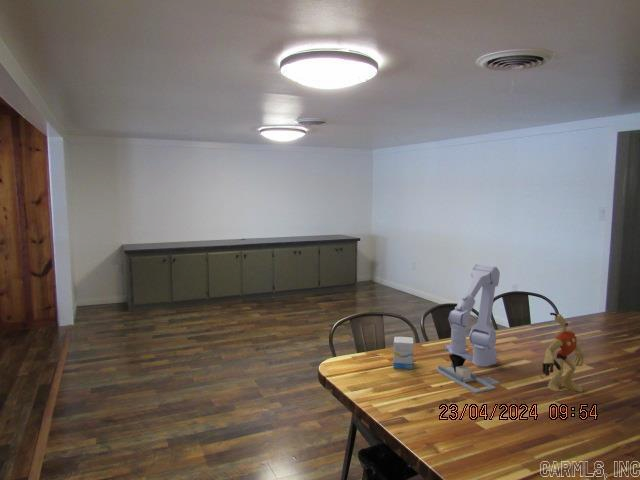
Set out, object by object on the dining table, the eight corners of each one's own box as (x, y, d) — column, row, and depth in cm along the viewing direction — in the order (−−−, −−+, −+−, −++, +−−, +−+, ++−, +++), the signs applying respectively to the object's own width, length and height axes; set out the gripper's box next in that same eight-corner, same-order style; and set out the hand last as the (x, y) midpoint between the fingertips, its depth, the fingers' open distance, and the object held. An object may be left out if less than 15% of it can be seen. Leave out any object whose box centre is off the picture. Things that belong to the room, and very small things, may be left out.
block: (463, 374, 178) (463, 365, 177) (470, 378, 174) (470, 368, 173) (455, 376, 176) (455, 366, 176) (462, 380, 172) (462, 370, 172)
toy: (550, 404, 157) (554, 321, 154) (528, 394, 164) (532, 315, 161) (589, 390, 167) (594, 313, 164) (568, 381, 175) (571, 307, 172)
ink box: (413, 369, 188) (413, 343, 187) (393, 368, 190) (393, 342, 189) (413, 362, 196) (413, 337, 195) (393, 361, 198) (394, 335, 197)
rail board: (455, 370, 187) (455, 362, 187) (495, 392, 166) (496, 383, 166) (435, 374, 183) (435, 365, 183) (474, 397, 162) (475, 388, 162)
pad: (488, 380, 177) (488, 376, 177) (499, 386, 172) (499, 382, 171) (478, 382, 175) (478, 378, 175) (489, 388, 170) (490, 384, 169)
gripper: (438, 335, 182) (438, 367, 183) (462, 346, 169) (461, 381, 170) (452, 333, 185) (451, 364, 186) (477, 344, 171) (476, 378, 173)
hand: (457, 372), depth 178 cm, fingers closed
